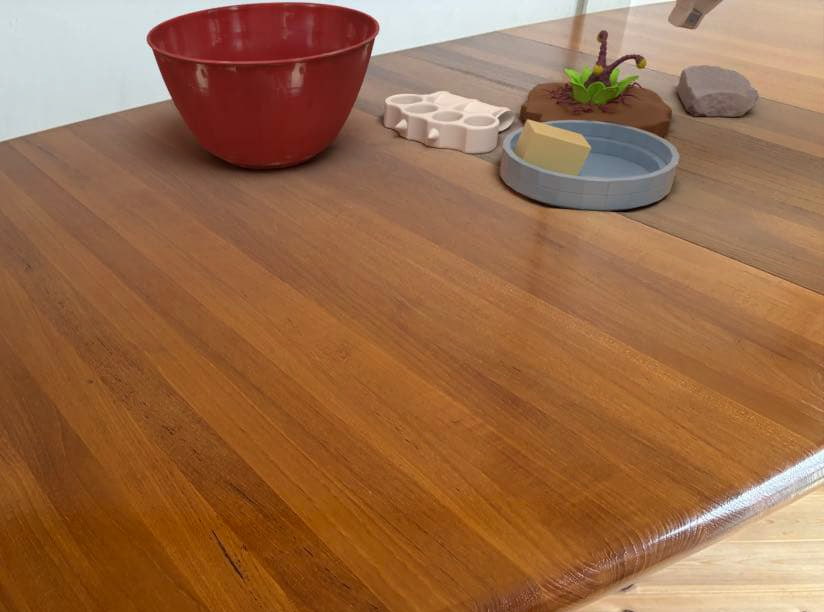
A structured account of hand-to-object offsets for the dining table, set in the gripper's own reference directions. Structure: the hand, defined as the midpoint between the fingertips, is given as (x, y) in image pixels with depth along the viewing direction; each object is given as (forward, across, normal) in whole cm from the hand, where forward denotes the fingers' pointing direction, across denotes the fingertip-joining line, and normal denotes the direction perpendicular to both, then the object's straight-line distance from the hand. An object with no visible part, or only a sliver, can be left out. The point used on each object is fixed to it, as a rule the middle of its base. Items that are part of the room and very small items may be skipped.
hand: (680, 25), depth 87 cm
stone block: (+14, +33, +12) cm, 38 cm away
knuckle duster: (+25, -5, +21) cm, 33 cm away
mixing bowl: (+32, -29, +25) cm, 50 cm away
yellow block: (+16, -3, 0) cm, 17 cm away
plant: (+19, +15, +16) cm, 29 cm away
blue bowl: (+19, -1, -1) cm, 19 cm away
